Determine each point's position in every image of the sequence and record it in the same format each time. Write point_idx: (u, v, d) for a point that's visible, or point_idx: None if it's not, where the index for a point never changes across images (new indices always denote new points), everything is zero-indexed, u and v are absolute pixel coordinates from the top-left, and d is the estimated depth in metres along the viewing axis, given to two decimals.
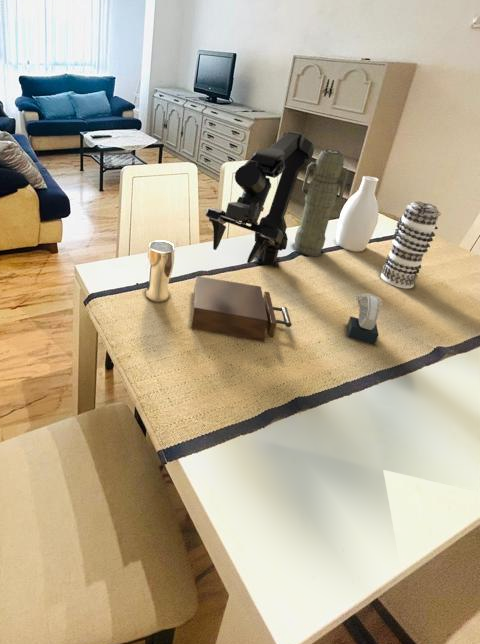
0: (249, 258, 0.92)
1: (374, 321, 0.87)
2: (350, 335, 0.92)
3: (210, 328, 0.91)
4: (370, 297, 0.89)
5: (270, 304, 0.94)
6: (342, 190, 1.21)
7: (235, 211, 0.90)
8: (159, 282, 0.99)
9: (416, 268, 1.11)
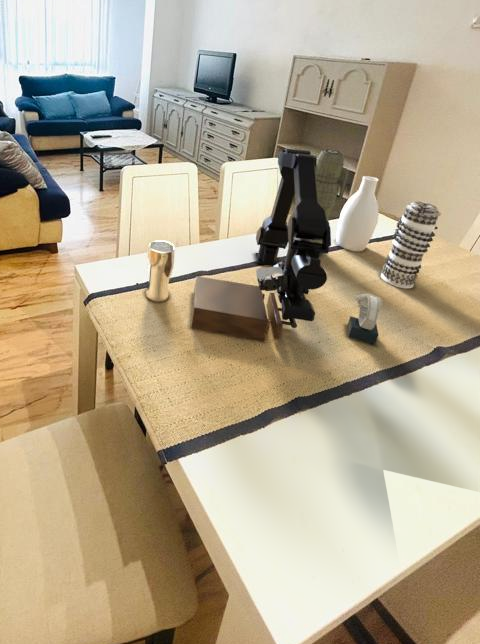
0: (282, 315, 0.93)
1: (374, 321, 0.87)
2: (350, 335, 0.92)
3: (210, 328, 0.91)
4: (370, 297, 0.89)
5: (275, 305, 0.94)
6: (342, 190, 1.21)
7: None
8: (159, 282, 0.99)
9: (416, 268, 1.11)
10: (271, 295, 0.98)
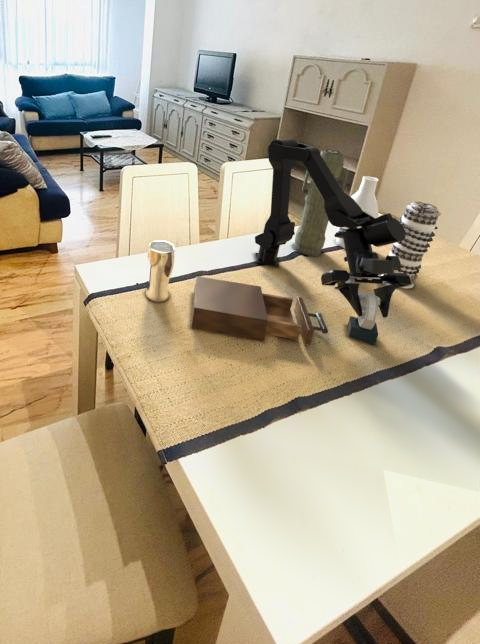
0: (386, 311, 0.89)
1: (373, 321, 0.87)
2: (350, 335, 0.92)
3: (210, 328, 0.91)
4: (369, 297, 0.89)
5: (305, 310, 0.93)
6: None
7: (386, 266, 0.86)
8: (159, 282, 0.99)
9: (416, 268, 1.11)
10: (299, 300, 0.97)
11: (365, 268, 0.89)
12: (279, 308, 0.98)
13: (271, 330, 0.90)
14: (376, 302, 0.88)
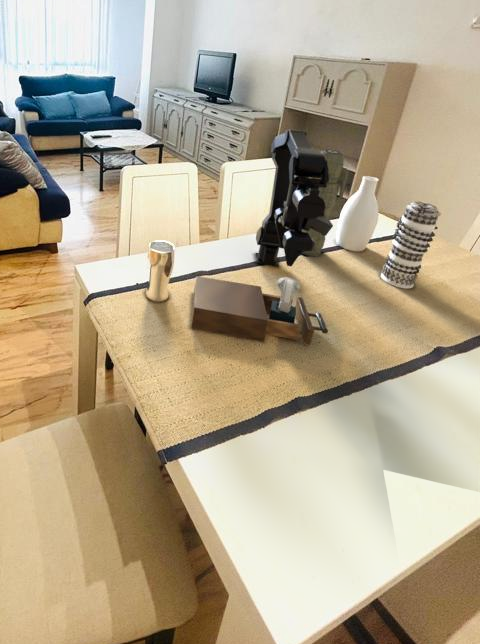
0: None
1: (289, 303, 0.88)
2: (270, 318, 0.93)
3: (210, 328, 0.91)
4: (287, 280, 0.91)
5: (305, 310, 0.93)
6: (342, 190, 1.21)
7: None
8: (159, 282, 0.99)
9: (416, 268, 1.11)
10: (299, 300, 0.97)
11: (316, 228, 0.94)
12: None
13: (271, 330, 0.90)
14: (293, 285, 0.89)
